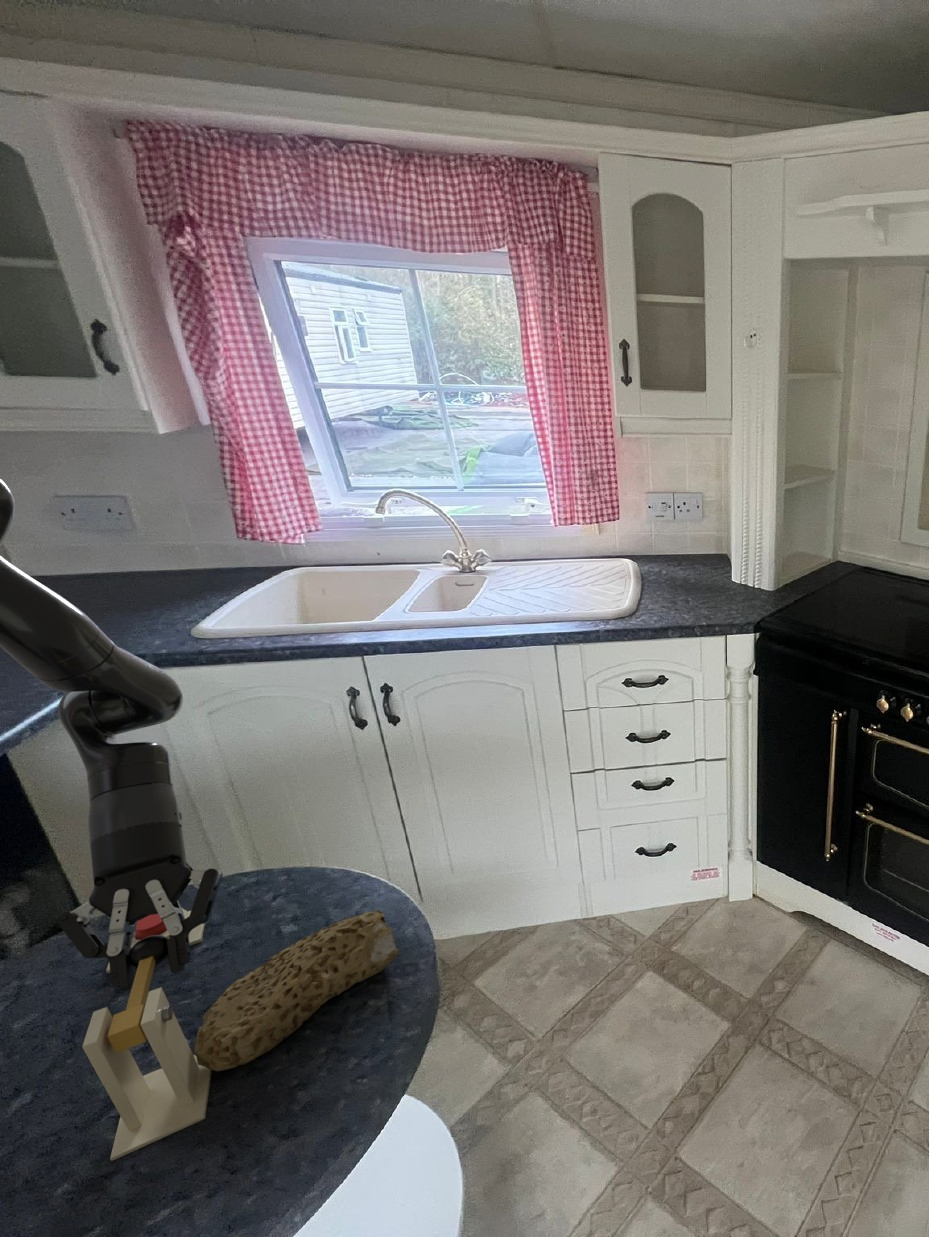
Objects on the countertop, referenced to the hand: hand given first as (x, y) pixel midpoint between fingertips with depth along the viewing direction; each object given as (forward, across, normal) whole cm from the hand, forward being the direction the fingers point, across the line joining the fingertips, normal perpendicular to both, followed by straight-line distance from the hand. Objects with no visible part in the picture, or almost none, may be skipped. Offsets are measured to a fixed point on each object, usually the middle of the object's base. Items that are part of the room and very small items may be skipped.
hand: (153, 979), depth 74 cm
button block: (-7, -4, +20) cm, 22 cm away
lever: (+2, 0, -3) cm, 3 cm away
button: (-8, -4, +18) cm, 21 cm away
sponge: (+9, +12, +5) cm, 16 cm away
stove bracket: (+13, 0, +1) cm, 13 cm away
